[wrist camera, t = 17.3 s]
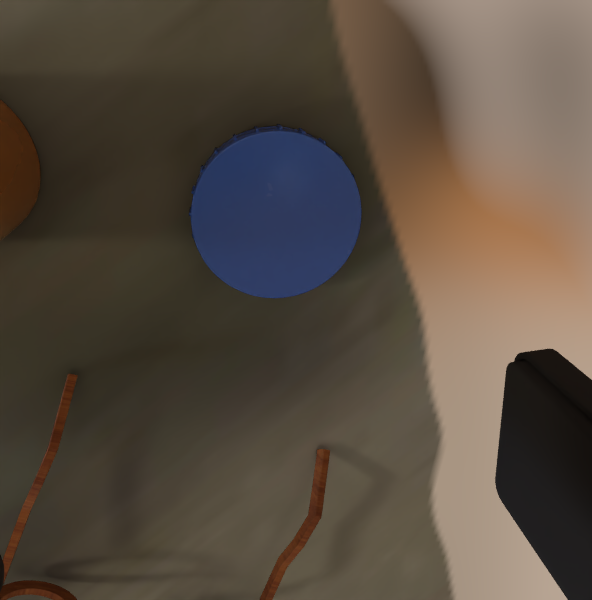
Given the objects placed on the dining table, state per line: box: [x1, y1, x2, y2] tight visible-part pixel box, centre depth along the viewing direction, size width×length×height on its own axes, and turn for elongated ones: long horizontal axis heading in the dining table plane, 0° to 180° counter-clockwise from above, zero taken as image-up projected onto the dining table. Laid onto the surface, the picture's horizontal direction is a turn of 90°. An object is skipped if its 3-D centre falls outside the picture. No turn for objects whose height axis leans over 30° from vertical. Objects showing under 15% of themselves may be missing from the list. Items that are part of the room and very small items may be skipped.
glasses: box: [0, 374, 330, 600], centre depth 25 cm, size 13×13×5 cm
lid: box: [189, 124, 362, 298], centre depth 22 cm, size 7×7×2 cm
